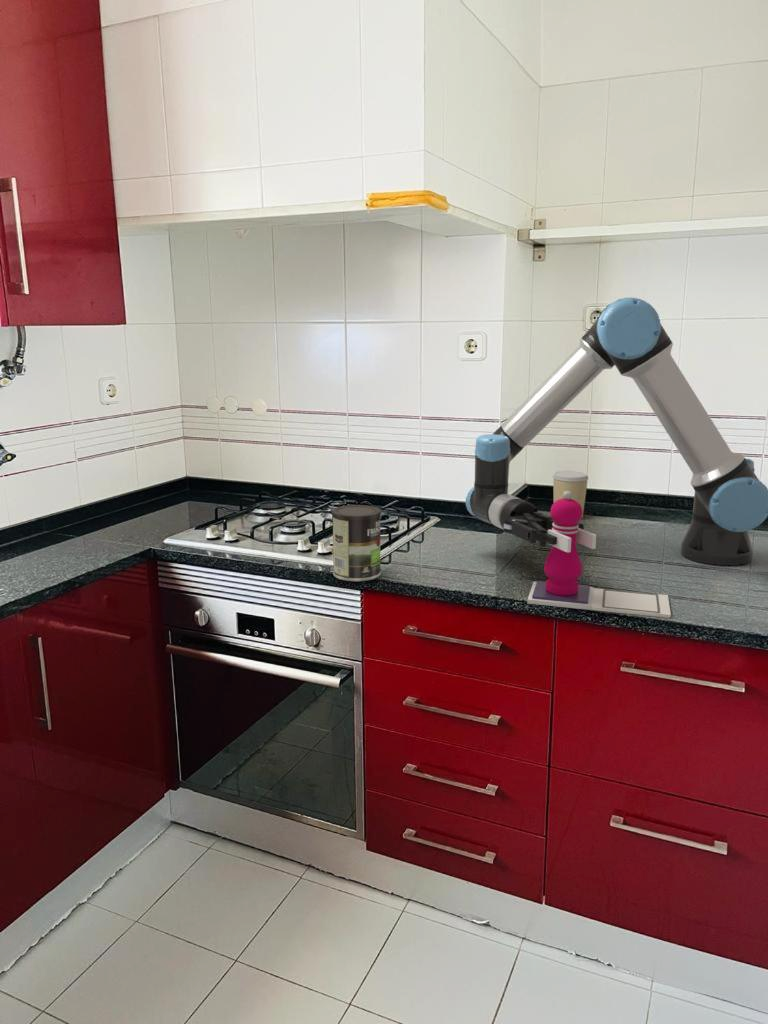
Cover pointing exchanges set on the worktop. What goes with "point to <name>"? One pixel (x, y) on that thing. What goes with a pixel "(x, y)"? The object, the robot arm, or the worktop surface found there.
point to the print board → (631, 602)
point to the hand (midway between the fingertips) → (581, 543)
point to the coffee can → (356, 542)
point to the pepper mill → (558, 562)
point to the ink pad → (561, 597)
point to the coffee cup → (570, 485)
